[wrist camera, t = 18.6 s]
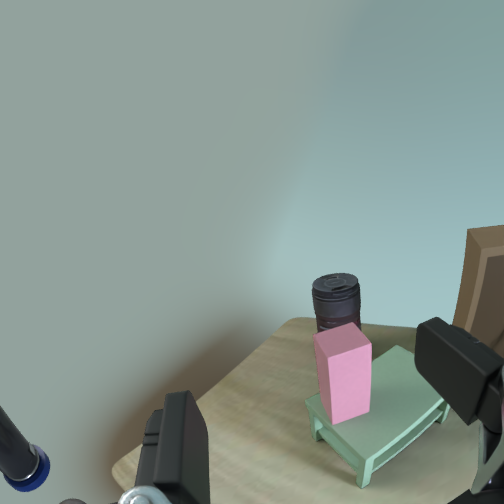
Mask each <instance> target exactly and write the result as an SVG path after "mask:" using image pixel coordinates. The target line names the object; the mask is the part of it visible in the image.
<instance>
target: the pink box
mask: <svg viewBox="0 0 504 504" xmlns="http://www.w3.org/2000/svg"><path fill="white" fill-rule="evenodd" d="M313 339H314V346H315V354H316V362H317V371H318V380H319V389H320V398H321V402H322V404H323V406H324V408H325V411H326V413H327V415H328V417H329V419H330V421H331V423H332V425H334V424H337V423H340V422H343V421H346V420H349V419H351V418H354V417H357V416H359V415H362V414H365V413H367V412H369V408H370V391H371V358H372V343H371V342H370V341H369V340H368V339H367V338H366V336H365V335H364V334H363V333H362V332H361V331H360V330H359V329H358V327H357V326H356V325H355V324H354V323H353V322H352V323H348V324H345V325H342V326H339V327H336V328H333V329H329V330H326V331H323V332H319V333H316V334H313Z"/></svg>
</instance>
